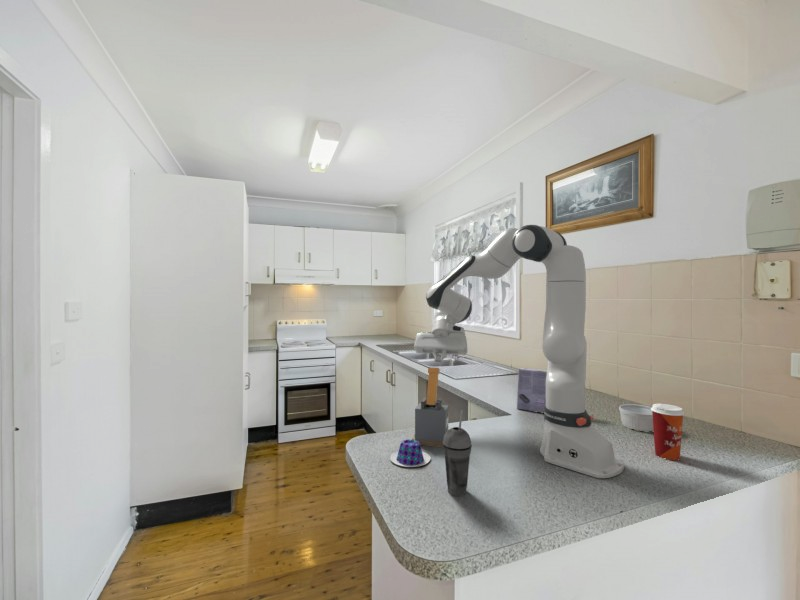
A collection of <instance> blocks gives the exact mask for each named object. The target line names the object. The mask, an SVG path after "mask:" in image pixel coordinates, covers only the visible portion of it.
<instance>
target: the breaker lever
mask: <svg viewBox="0 0 800 600" xmlns="http://www.w3.org/2000/svg"><path fill="white" fill-rule="evenodd" d="M440 370H441V369H440V368H439V367H428V368H427V373H428V380H427V392H426V393H427V394H426V398H427V402H426V407H429V408H436V402H437V400H438V399H437V398H438V395H437V394H438V385H439V384H438V383H439V375H440V372H441V371H440Z"/></svg>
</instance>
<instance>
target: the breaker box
mask: <svg viewBox="0 0 800 600" xmlns="http://www.w3.org/2000/svg"><path fill="white" fill-rule="evenodd" d="M426 402H427V397H423V398H422V399H421V401H420V402H419V403H418V404H417V406H416V407H415V408H414V435H413V437H412V438H411V440H416V441H419V443H420V445H421V446H425V447H426V446H430V447H437V448H443V445H442V443H443V438H444V435H445V433H446V432H447V431H448V430H449V420H450V418H449V417H450V416H449V404H443V403H442V402H443V401H442V398H438V399H437V400H436V408H429V407H426Z"/></svg>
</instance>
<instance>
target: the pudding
mask: <svg viewBox="0 0 800 600" xmlns="http://www.w3.org/2000/svg"><path fill="white" fill-rule="evenodd" d="M389 459H390V461H391V462H392V463H393V464H395V465H397V466H400V467H406V468H414V467H415V468H417V467H421V466H422V467H423V466H424V465H427V464H428V463H429V462H430V461H431V456H430V454H429V453H427V452H426V451H422V445H420V443H419V441H416V440H412V439H410V438H409V439H404V440H402V441H401V443H400V445H399V448H398V450H397V451H395V452H393V453H392V454H391V455H390V458H389Z"/></svg>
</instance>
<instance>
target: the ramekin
mask: <svg viewBox="0 0 800 600" xmlns="http://www.w3.org/2000/svg"><path fill="white" fill-rule="evenodd" d="M651 408H652V406H649V405H643V404H634V403H632V404H631V403H629V404H628V403H625V404H621V405H619V408H618V410H619V412H620V413H619V414H620V419H621V423H622V426H624V427H625V426H626V427H628V428H627V429H629V428H631V429H635V430H640V431H653V415H652V410H651ZM626 427H625V428H626ZM631 429H630V430H631ZM635 430H634V431H635ZM640 431H639V432H640Z"/></svg>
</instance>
